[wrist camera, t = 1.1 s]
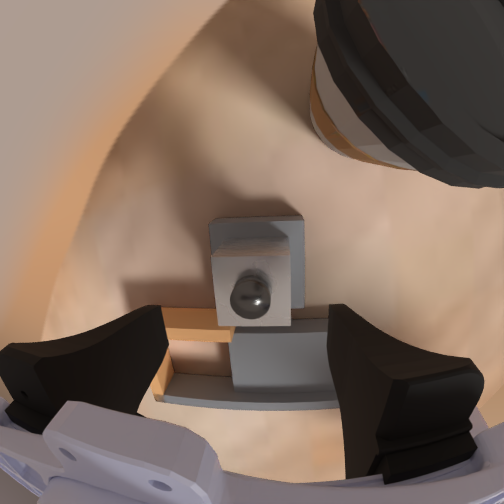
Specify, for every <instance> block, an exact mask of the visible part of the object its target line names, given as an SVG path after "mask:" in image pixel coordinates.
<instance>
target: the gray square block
mask: <svg viewBox="0 0 504 504" xmlns="http://www.w3.org/2000/svg"><path fill="white" fill-rule="evenodd" d="M209 234H210V244H211V255H213V254H214V252H215V251H216V250H217V249H218V247H219V246H220V245H221V243H222V242H223V241H224V240H225V239H230V238H260V237H289V247H290V267H291V309H292V308H304V293H305V242H304V219H303V217H302V215H293V216H263V217H238V218H218V219H214V220H213V221H212V222H211V223H209Z"/></svg>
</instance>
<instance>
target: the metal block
mask: <svg viewBox="0 0 504 504" xmlns="http://www.w3.org/2000/svg"><path fill="white" fill-rule="evenodd" d="M211 266H212V275H213V284H214V293H215V302H216V310H217V318H218V326H291V267H290V247H289V237H260V238H230V239H225V240H224V241H223V242H222V243H221V245H220V246H219V247H218V249H217V250H216V251H215V252H214V254H213V255H212V256H211Z"/></svg>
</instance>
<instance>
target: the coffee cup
mask: <svg viewBox="0 0 504 504" xmlns="http://www.w3.org/2000/svg"><path fill="white" fill-rule="evenodd" d="M313 15H314V21H315V27H316V34H317V42H318V45H317V47H316V52H315V57H314V62H313V67H312V77H311V87H310V118H311V121H312V124H313V126H314V129H315V131H316V132H317V134H318V136H319V137H320V139H321V140H322V141H323V142H324V143H325V144H326V145H327V146H328V147H329V148H330V149H331V150H333V151H335V152H337V153H338V154H340V155H342V156H345V157H349V158H352V159H357V160H360V161H363V162H367V163H372V164H377V165H382V166H387V167H392V168H396V169H403V170H414V171H419V172H420V173H422V174H425V175H427V176H429V177H432V178H434V179H437V180H439V181H441V182H444V183H446V184H448V185H451V186H458V187H469V188H478V189H479V188H482V187H492V188H504V0H316V2H315V7H314V12H313Z"/></svg>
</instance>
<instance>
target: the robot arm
mask: <svg viewBox="0 0 504 504" xmlns="http://www.w3.org/2000/svg"><path fill="white" fill-rule="evenodd" d="M168 346H169V342H168V337H167V333H166V328H165V324H164V319H163V314H162V309H161V305H147V306H144V307H141V308H139V309H136V310H134V311H132V312H130V313H128V314H126V315H124V316H122V317H119V318H117V319H115V320H113V321H111V322H109V323H106V324H104V325H102V326H99V327H97V328H95V329H92V330H89V331H86V332H83V333H80V334H77V335H74V336H69V337H65V338H61V339H56V340H50V341H43V342H35V343H34V342H33V343H10V344H8V345H7V346H6V347H5V348H3V349H2V350H1V351H0V376H1V378H2V380H3V382H4V384H5V386H6V387H7V389H8V391H9V393H10V394H11V396H12V398H13V399H14V401H13V402H12V403H11V404H9V402H8V401H7V400H5V399H4V398H2V397H1V396H0V468H1V469H2V470H4V471H5V472H6V473H8V474H9V475H10V476H11V477H12V478H14V479H15V480H16V481H18V482H19V483H20V484H22V485H23V486H24V487H26V488H27V489H28V490H30V491H31V492H33V493H34V494H35V495H37V496H38V497H40V498H39V500H38V502H37V503H36V504H504V422H502V423H500V424H498V425H496V426H494V427H491V428H489V429H488V426H487V423H486V422H485V420H484V418H483V416H482V415H481V413H480V411H479V410H478V408H477V407H476V405H477V403H478V401H479V399H480V397H481V394H482V391H483V389H484V377H483V374H482V373H481V372H480V370H479V369H478V368H477V367H476V365H475V364H474V363H473V361H472V360H471V359H470V358H463V357H455V356H447V355H442V354H438V353H433V352H430V351H426V350H423V349H420V348H417V347H414V346H411V345H409V344H406V343H404V342H402V341H400V340H397V339H395V338H393V337H391V336H389V335H388V334H386V333H384V332H383V331H381V330H379V329H378V328H376V327H375V326H373V325H372V324H370V323H369V322H367V321H366V320H365V319H363V318H362V317H361V316H359V315H358V314H357V313H355V312H354V311H353V310H352V309H350V308H349V307H348V306H346V305H345V304H330V305H329V316H328V331H327V344H326V347H327V355H328V363H329V368H330V372H331V375H332V379H333V383H334V387H335V390H336V394H337V398H338V402H339V406H340V412H341V419H342V428H343V439H344V451H345V472H346V479H345V480H336V481H326V482H312V483H288V482H281V481H274V480H268V479H262V478H257V477H252V476H247V475H242V474H237V473H233V472H229V471H224V470H222V468H221V466H220V463H219V460H218V456H217V454H216V452H215V451H214V450H213V448H212V447H211V446H210V444H209V443H208V442H207V441H206V440H205V439H204V438H203V437H201V436H199V435H197V434H196V433H194V432H192V431H191V430H189V429H188V428H186V427H182V426H179V425H176V424H172V423H169V422H166V421H161V420H156V419H150V418H145V417H140V416H136V413H137V410H138V408H139V405H140V403H141V401H142V399H143V396H144V395H145V393H146V391H147V389H148V387H149V386H150V384H151V382H152V380H153V379H154V377H155V375H156V373H157V371H158V370H159V368H160V366H161V364H162V362H163V360H164V357H165V355H166V352H167V349H168Z"/></svg>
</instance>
